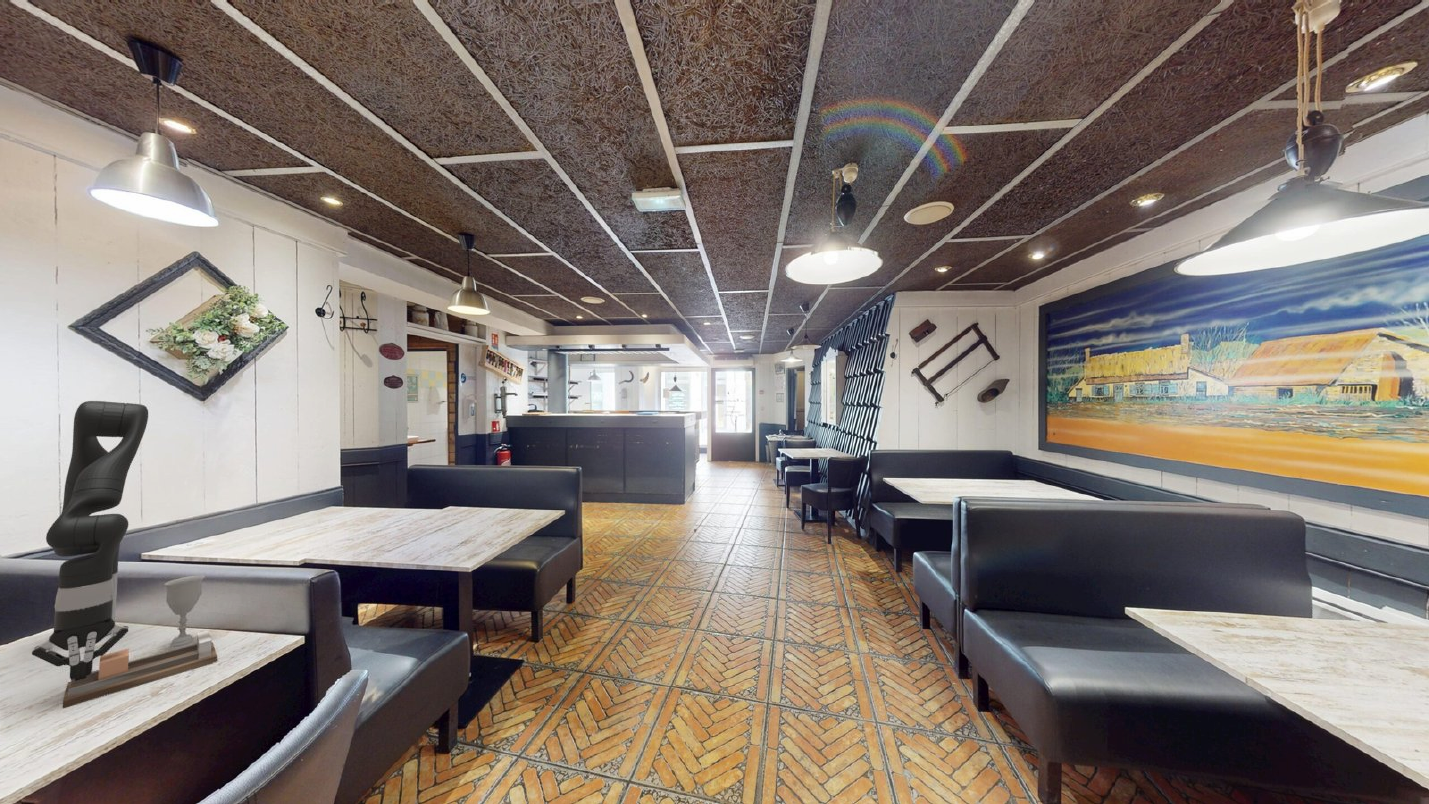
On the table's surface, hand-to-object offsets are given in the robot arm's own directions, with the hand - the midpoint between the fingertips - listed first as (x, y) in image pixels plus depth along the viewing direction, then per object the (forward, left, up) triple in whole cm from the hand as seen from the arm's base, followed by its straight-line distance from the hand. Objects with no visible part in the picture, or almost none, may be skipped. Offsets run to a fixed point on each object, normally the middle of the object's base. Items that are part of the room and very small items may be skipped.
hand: (80, 678), depth 97 cm
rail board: (0, +9, -4) cm, 10 cm away
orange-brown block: (0, +4, -2) cm, 5 cm away
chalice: (-14, +15, -4) cm, 21 cm away
